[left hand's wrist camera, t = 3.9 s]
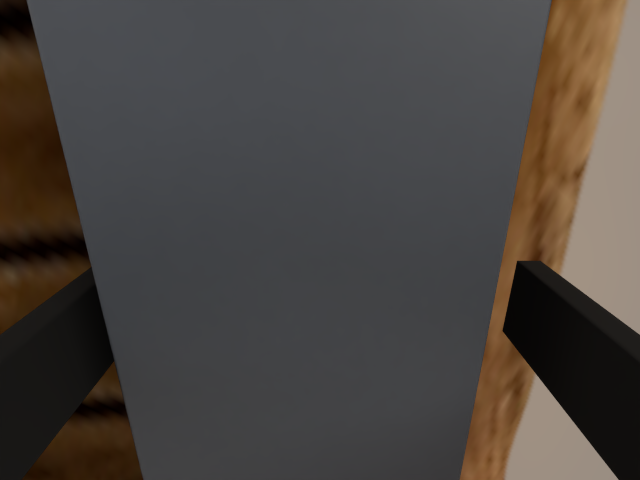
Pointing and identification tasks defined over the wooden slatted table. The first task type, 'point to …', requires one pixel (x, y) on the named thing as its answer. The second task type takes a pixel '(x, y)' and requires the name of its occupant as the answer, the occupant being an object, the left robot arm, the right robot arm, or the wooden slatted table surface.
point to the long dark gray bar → (294, 220)
